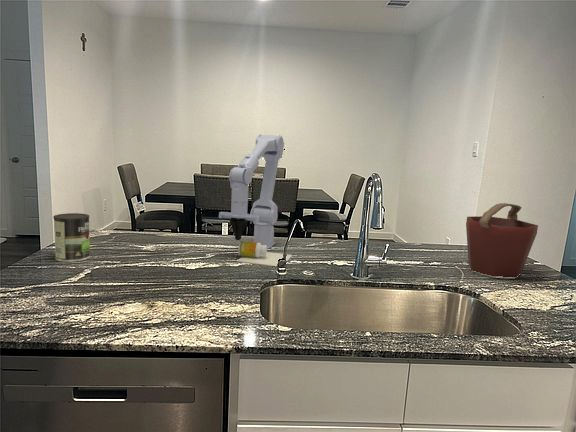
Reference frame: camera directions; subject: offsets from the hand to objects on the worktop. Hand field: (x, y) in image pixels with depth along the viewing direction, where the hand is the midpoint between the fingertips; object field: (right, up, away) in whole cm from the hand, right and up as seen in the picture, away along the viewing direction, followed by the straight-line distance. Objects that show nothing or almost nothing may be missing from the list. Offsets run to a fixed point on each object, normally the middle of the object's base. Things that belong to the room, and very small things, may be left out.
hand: (238, 239), depth 148 cm
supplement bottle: (0, -3, +1) cm, 3 cm away
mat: (+10, -7, +1) cm, 12 cm away
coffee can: (-53, -6, -12) cm, 55 cm away
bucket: (+92, -12, 0) cm, 93 cm away
